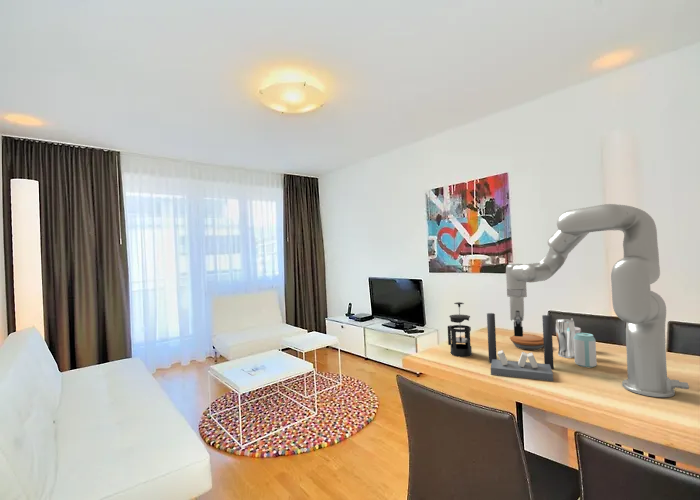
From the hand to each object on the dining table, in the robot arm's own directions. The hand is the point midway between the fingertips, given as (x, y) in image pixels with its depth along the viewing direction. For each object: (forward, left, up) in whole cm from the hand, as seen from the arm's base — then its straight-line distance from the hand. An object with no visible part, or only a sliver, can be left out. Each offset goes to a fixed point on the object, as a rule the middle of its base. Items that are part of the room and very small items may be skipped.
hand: (518, 333), depth 145 cm
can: (-23, +2, -11) cm, 25 cm away
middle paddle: (0, +19, -8) cm, 20 cm away
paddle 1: (+5, +19, -8) cm, 21 cm away
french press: (+24, +1, -11) cm, 26 cm away
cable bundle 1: (+10, +10, -10) cm, 17 cm away
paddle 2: (-5, +19, -8) cm, 21 cm away
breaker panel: (0, +19, -10) cm, 21 cm away
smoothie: (-22, -20, -11) cm, 32 cm away
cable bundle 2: (-10, +10, -10) cm, 17 cm away
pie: (-4, -20, -11) cm, 23 cm away
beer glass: (-18, -9, -11) cm, 23 cm away
